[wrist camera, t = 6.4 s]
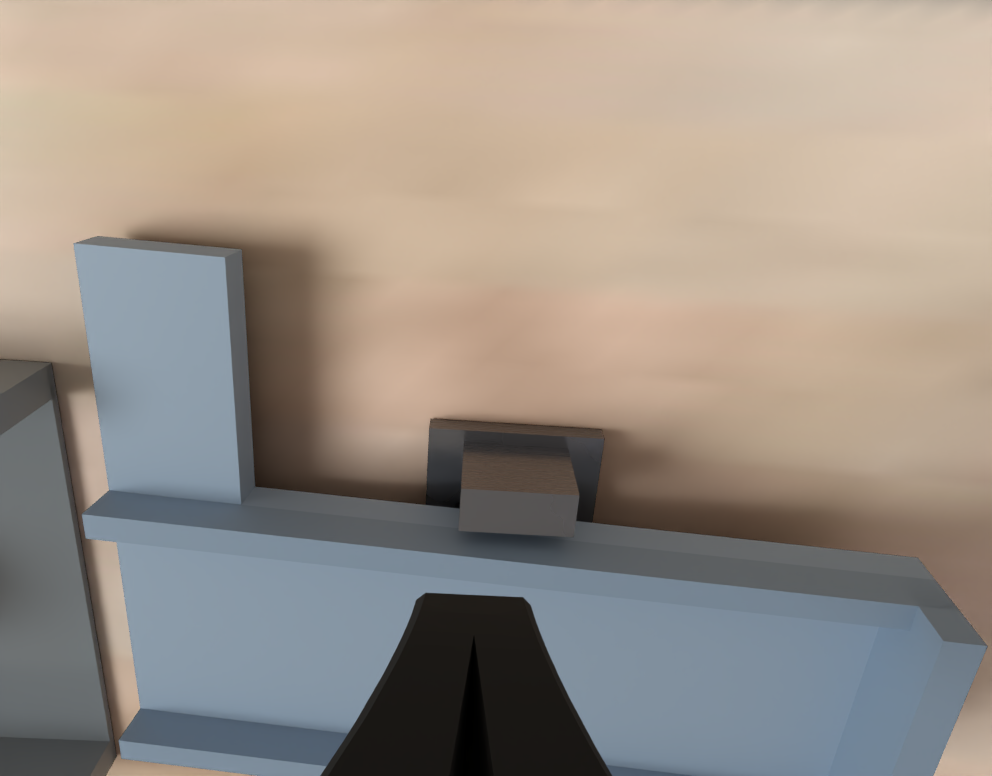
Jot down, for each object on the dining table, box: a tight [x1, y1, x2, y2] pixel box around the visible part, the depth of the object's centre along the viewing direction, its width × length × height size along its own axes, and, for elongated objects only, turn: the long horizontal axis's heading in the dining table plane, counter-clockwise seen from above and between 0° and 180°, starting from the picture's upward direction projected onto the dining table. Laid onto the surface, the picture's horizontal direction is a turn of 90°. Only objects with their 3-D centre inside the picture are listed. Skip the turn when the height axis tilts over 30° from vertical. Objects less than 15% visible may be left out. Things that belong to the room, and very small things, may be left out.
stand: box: [426, 419, 604, 537], centre depth 18 cm, size 10×4×3 cm, turn 176°
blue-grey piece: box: [74, 236, 987, 776], centre depth 16 cm, size 13×18×3 cm
